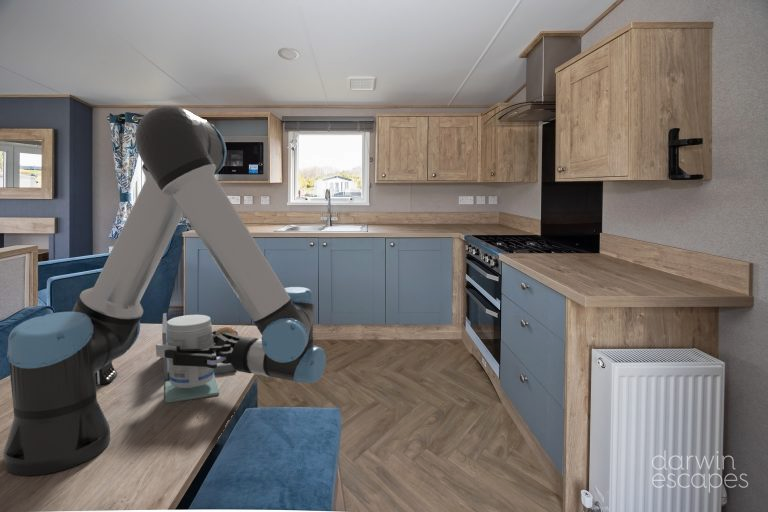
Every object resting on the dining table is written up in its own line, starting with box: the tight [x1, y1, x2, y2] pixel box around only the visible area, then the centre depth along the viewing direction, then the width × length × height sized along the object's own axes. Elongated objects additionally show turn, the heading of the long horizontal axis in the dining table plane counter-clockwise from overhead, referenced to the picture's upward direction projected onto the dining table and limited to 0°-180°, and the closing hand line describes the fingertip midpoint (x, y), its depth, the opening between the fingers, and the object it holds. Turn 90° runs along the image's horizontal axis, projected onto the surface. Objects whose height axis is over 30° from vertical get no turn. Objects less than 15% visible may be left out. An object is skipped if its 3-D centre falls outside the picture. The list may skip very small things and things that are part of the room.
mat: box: [164, 374, 220, 404], centre depth 106 cm, size 11×11×1 cm
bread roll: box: [212, 326, 239, 336], centre depth 144 cm, size 11×8×4 cm
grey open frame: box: [161, 312, 238, 382], centre depth 122 cm, size 17×20×12 cm
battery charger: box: [95, 361, 118, 386], centre depth 109 cm, size 7×4×11 cm, turn 13°
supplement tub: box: [166, 314, 215, 388], centre depth 104 cm, size 10×10×15 cm
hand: (175, 343), depth 106 cm, fingers closed on supplement tub, 9 cm apart
